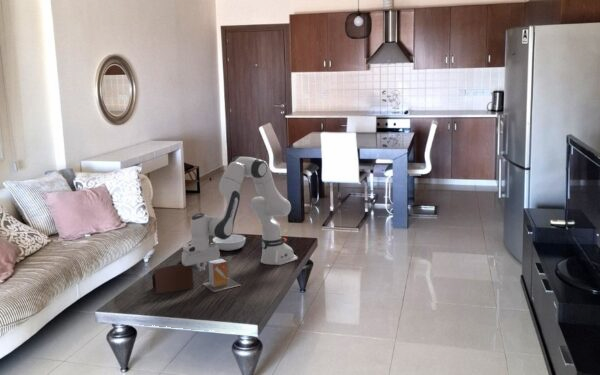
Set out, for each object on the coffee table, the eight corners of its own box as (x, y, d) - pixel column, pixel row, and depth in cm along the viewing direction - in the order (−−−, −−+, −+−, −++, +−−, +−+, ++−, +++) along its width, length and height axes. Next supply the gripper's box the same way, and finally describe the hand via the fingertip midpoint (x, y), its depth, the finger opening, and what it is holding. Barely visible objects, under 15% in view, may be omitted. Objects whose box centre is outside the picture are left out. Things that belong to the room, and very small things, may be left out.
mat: (229, 278, 323) (229, 277, 323) (241, 285, 311) (241, 285, 311) (202, 284, 315) (202, 283, 315) (213, 292, 303) (213, 291, 303)
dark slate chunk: (166, 274, 334) (166, 266, 333) (181, 261, 355) (180, 254, 354) (192, 275, 331) (191, 267, 330) (205, 262, 352) (204, 255, 351)
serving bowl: (244, 253, 367) (243, 242, 365) (210, 254, 367) (210, 243, 366) (247, 243, 387) (247, 233, 386) (215, 244, 387) (215, 234, 386)
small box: (214, 287, 308) (212, 264, 306) (209, 284, 314) (207, 261, 311) (228, 284, 313) (226, 261, 310) (223, 281, 318) (221, 258, 315)
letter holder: (194, 288, 310) (192, 262, 307) (156, 294, 303) (154, 268, 300) (189, 282, 319) (188, 257, 316) (152, 288, 312) (150, 263, 309)
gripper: (216, 240, 311) (217, 264, 313) (179, 247, 300) (181, 272, 303) (221, 242, 305) (222, 268, 308) (184, 250, 295) (185, 276, 297)
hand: (201, 270), depth 305 cm, fingers closed
